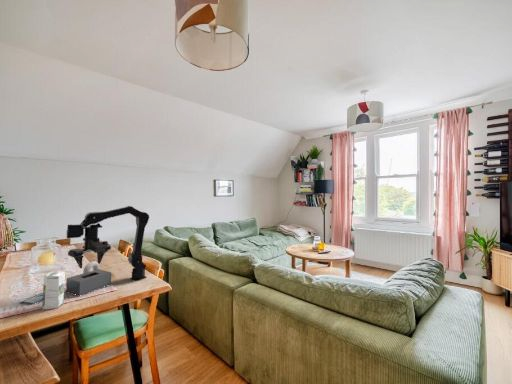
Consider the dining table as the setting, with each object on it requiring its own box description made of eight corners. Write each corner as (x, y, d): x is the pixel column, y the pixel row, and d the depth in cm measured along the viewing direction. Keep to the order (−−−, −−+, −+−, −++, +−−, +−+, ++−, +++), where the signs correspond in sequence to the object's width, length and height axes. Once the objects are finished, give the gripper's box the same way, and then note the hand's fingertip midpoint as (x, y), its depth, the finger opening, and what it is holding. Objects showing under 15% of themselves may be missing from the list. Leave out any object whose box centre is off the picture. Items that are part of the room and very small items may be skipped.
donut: (86, 282, 133) (86, 264, 134) (81, 281, 134) (81, 263, 134) (100, 276, 143) (101, 259, 143) (96, 275, 144) (96, 259, 144)
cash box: (97, 281, 135) (98, 269, 135) (110, 285, 130) (111, 272, 130) (66, 291, 120) (66, 278, 120) (79, 296, 116) (79, 282, 116)
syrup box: (48, 304, 107) (49, 272, 107) (64, 302, 109) (65, 271, 109) (41, 310, 102) (42, 276, 102) (58, 308, 104) (59, 275, 104)
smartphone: (18, 302, 107) (51, 288, 122) (18, 304, 107) (51, 290, 122) (32, 304, 106) (63, 290, 121) (32, 306, 106) (63, 291, 121)
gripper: (81, 241, 114) (80, 273, 114) (118, 235, 131) (117, 263, 131) (67, 238, 118) (66, 270, 118) (104, 233, 135) (103, 260, 135)
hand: (90, 265), depth 125 cm, fingers open, 9 cm apart
